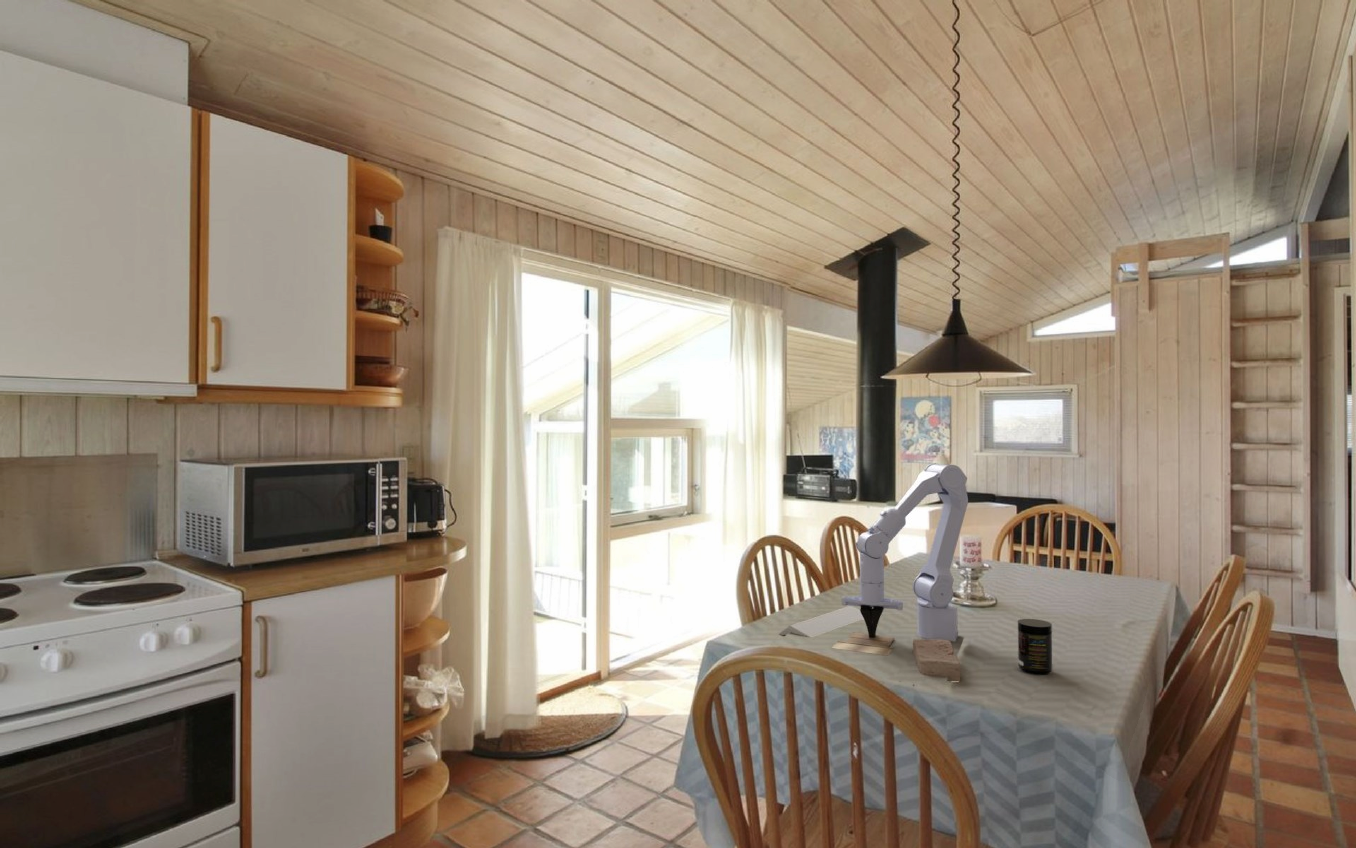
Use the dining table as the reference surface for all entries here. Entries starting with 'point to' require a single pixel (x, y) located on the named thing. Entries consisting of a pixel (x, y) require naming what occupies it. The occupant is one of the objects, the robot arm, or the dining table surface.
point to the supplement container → (1035, 646)
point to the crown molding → (825, 622)
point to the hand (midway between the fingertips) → (872, 636)
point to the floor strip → (862, 648)
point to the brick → (937, 658)
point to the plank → (871, 639)
